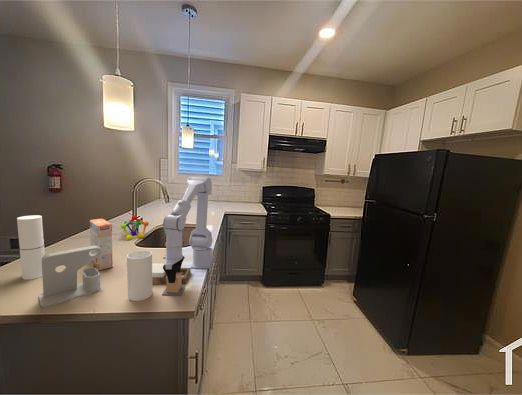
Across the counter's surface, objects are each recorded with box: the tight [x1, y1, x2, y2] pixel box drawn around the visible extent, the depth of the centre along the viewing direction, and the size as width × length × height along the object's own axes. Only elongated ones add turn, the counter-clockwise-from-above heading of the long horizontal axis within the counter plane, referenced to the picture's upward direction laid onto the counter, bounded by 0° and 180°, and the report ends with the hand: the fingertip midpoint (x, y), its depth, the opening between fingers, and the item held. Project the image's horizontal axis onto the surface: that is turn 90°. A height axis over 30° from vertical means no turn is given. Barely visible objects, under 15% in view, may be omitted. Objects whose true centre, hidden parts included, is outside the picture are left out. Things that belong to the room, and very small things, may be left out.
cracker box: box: [89, 218, 114, 271], centre depth 109 cm, size 14×6×21 cm, turn 47°
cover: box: [152, 262, 166, 277], centre depth 100 cm, size 9×9×2 cm
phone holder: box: [38, 245, 102, 308], centre depth 85 cm, size 17×10×18 cm, turn 137°
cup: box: [126, 249, 153, 302], centre depth 86 cm, size 8×8×16 cm
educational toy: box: [120, 215, 150, 241], centre depth 150 cm, size 16×13×15 cm
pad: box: [161, 284, 186, 296], centre depth 92 cm, size 7×7×1 cm
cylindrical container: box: [16, 214, 46, 281], centre depth 95 cm, size 7×7×25 cm
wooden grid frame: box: [152, 267, 192, 285], centre depth 101 cm, size 18×10×2 cm, turn 94°
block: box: [165, 272, 183, 293], centre depth 91 cm, size 4×4×6 cm
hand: (174, 278), depth 91 cm, fingers open, 5 cm apart
